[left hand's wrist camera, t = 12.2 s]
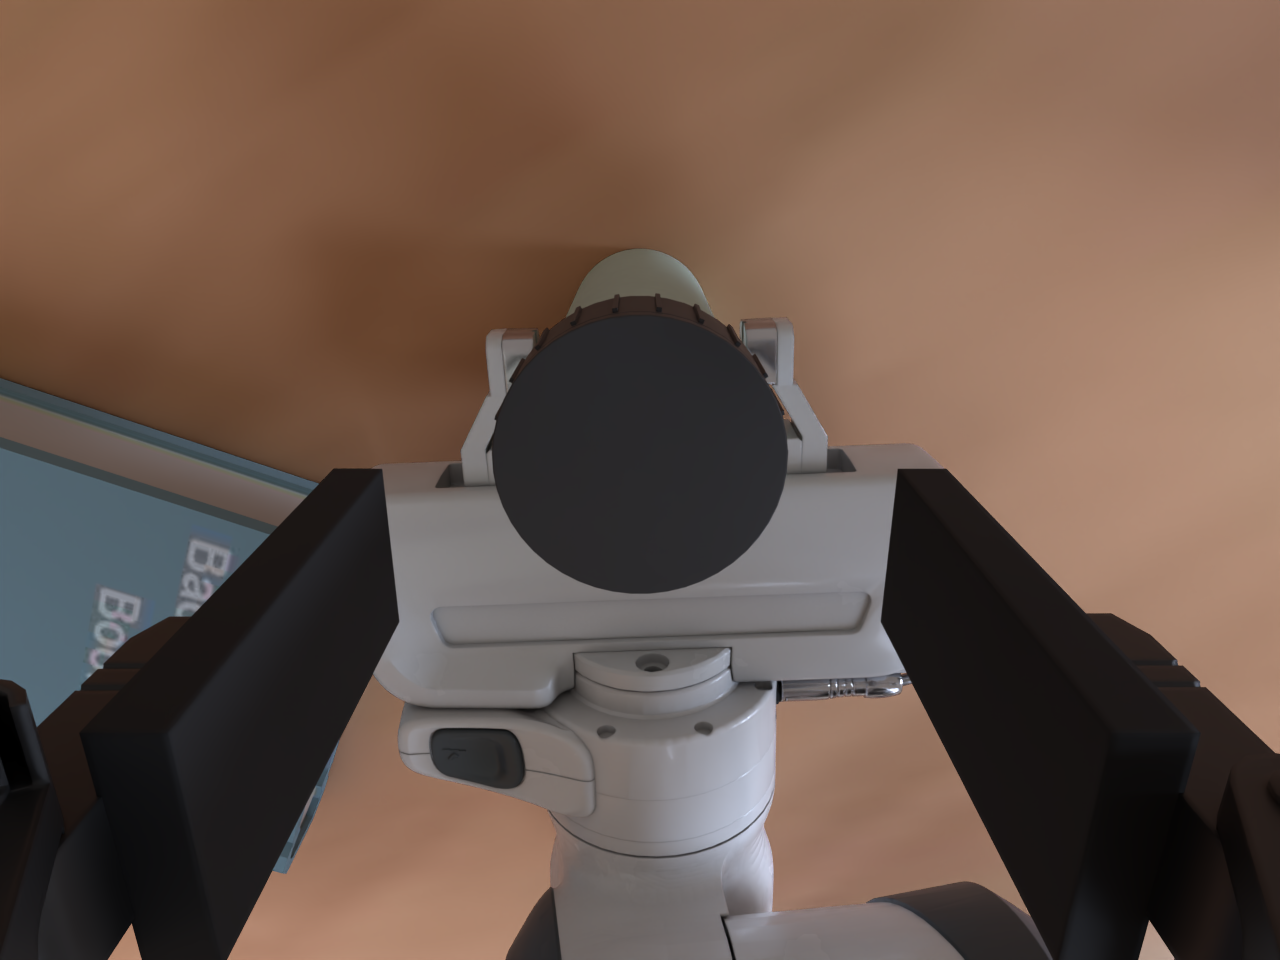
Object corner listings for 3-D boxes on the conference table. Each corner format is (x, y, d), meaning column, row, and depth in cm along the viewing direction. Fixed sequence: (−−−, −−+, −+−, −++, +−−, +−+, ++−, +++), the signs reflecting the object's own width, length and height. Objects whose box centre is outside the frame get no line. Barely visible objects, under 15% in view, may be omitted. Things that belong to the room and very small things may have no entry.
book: (407, 513, 36) (372, 567, 31) (319, 805, 41) (278, 890, 36) (-171, 321, 33) (-306, 349, 28) (-185, 662, 38) (-300, 733, 34)
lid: (450, 392, 20) (425, 424, 17) (680, 234, 18) (686, 246, 16) (604, 593, 21) (600, 645, 19) (823, 461, 20) (846, 501, 18)
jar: (546, 298, 33) (467, 424, 18) (659, 220, 32) (676, 283, 17) (622, 407, 34) (608, 606, 19) (732, 335, 33) (808, 487, 18)
